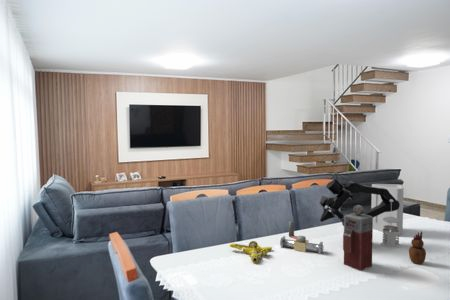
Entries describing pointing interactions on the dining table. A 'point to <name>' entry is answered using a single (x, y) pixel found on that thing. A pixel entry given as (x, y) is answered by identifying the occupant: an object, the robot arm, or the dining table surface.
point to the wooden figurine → (417, 250)
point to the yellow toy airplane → (252, 250)
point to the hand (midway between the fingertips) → (320, 221)
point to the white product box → (378, 220)
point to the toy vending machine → (358, 239)
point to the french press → (393, 235)
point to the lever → (291, 233)
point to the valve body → (301, 245)
